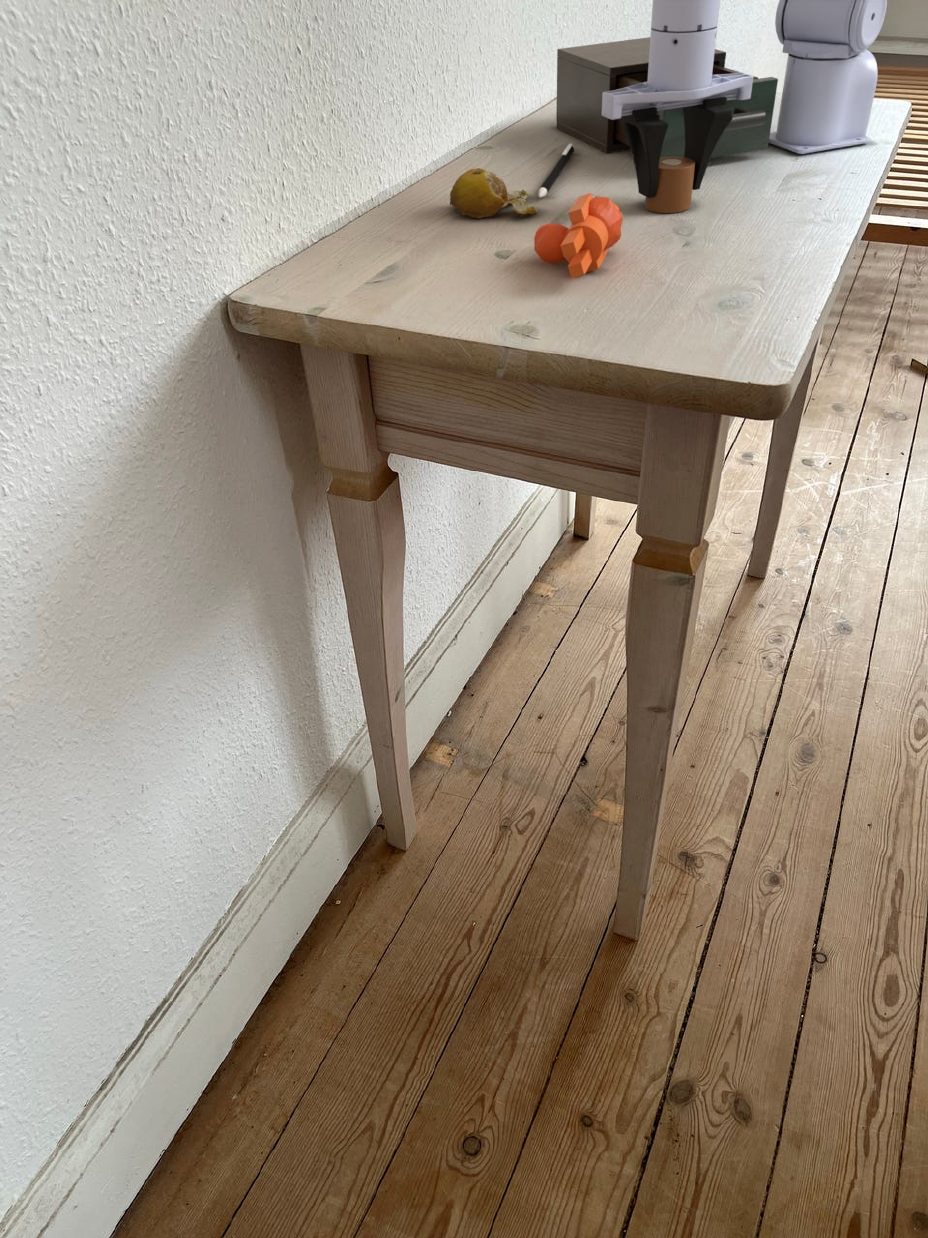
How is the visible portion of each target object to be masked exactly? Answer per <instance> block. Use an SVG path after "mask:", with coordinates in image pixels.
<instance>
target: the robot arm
mask: <svg viewBox="0 0 928 1238" xmlns="http://www.w3.org/2000/svg"><path fill="white" fill-rule="evenodd" d="M651 6H652V9H651V21H650V22H651V23H650V36H649V37H650V51H649V66H648V80H647V82H644V83H640V84H636V85H632V86H629V87H625V88H621V89H617V90H612V91H607V92H603V95H602V116H604V117H606V118H609V119H611V120H614V119H619V122H620V124H621V126H622V128H623V131H624V133H625V135H626V138H627V140H628V143H629V146H630V149H629V150H630V152H631V156H632V160H633V164H634V169H635V170H634V171H635V175H636V181H637V189H638V194H640V195H642V196H644V197H645V198H646V197H647V198H652V197H655V194H656V190H657V184H658V171H659V161H660V155H661V150H662V146H663V142H664V138H665V135H666V132H667V129H668V126H669V125H668V123H667V122H664V121H662V120H660V115H657V111H660V110H666V109H673V108H680V107H683V114H684V126H685V153H684V157H686V158H690V159H692V160H694V161H695V170H694V179H693V189H692V191H697V190H700V189H701V186H702V182H703V179H704V177H705V175H706V171H707V168H708V166H709V162H710V161H711V159H712V158H711V155H712V153H713V151H714V149H715V147H716V145H717V143H718V141H719V139H720V137H721V135H722V134H723V132H724V131H725V129H726V127H727V126H728V125H729V123H730V122H731V120H732V118H733V111H734V108H733V107H732V106H729V105H726V104H727V100H733V99H738V100H747V99H750V98H751V91H752V83H753V76H754V75H751V74H748V73H746V72H741V71H739V72H740V73H732V74H719V75H712V71H713V62H714V52H715V49H716V42H717V34H718V33H717V32H718V25H719V24H718V23H719V14H720V6H721V0H652V5H651ZM887 6H888V0H778V4H777V7H776V11H775V20H774V23H775V24H774V26H775V32H776V36H777V39H778V41H779V43H780V44H781V45H782V46H783V47H782V53H783V54H787V61H786V67H785V74H784V79H783V86H782V92H781V100H780V105H779V113H778V119H777V126H776V131H771V132H770V137H769V144H772V145H774V146H776V147H779V148H782V149H784V150H787V151H790V152H793V153H795V154H799V155H804V154H811V153H815V152H821V151H828V150H832V149H833V150H834V149H839V148H845V147H846V148H847V147H851V146H857V145H863V144H869V143H870V142H871V137H868V136H867V133H868V127H869V122H870V117H871V113H872V109H873V104H874V99H875V94H876V89H877V84H878V78H879V77H878V73H879V71H878V64H877V60H876V57H875V56H874V54H873V53H872V52H870V51H869V50H868V49H869V47H870V46H871V45H872V44H873V43H874V42H875V40H876V39H877V38H878V36H879V34H880V32H881V29H882V27H883V24H884V22H885V17H886V12H887V8H888V7H887Z"/></svg>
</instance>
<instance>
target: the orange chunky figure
mask: <svg viewBox="0 0 928 1238" xmlns="http://www.w3.org/2000/svg"><path fill="white" fill-rule="evenodd" d="M621 211H622V210H621V208H620V207H619V206H618V204H616V203H614V202H613V201H612V200H611V199H610V198H609V197H606V196H594V197H593V193H592V192H590V193H586V194H583V195H580V196H578V197H577V199H576V201H575V202H574V203H573V205H572V206H571V208H570V210H569V211H568V216H569V219H570V223H571V225H570V227H567V226H565V225H563V224H561V223H553V222H552V223H551V222H550V223H545V224H542V225H541V226H539V227H538V229H537V230H536V231H535V234H534V239H533V240H534V241H533V243H534V252H535V253H536V255H537V256H538V257H539V259H540V260H542V261H543V262H545V263H547V264H550V265H557V264H561V263H564V262H566V261H567V262H568V263H569V264H568V265H567V268H568V271H569V275H570V278H571V279H574V278H578V277H581V276H582V277H583V276H585V274H586V273H589V272H593V271H596V270H599V269H600V268H601V265H602V263H603V262H604V259H605V258H606V256H607V254H608V252H609V249H611V248H613V246H615V244H617V243H618V242H619V240H621V237H622V225H623V220H624V219H623V212H621Z"/></svg>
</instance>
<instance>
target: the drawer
mask: <svg viewBox="0 0 928 1238" xmlns="http://www.w3.org/2000/svg"><path fill="white" fill-rule="evenodd" d="M740 72H741V71H738V70H735V69H731V68H728V67H721V66H718V65H714V64H713V71H712V75H719V74H732V73H740ZM752 76H753V83H752V91H751V98H750V99H747V100H738V99H733V100H727V104H726V105H729V106H732V107H733V108H734V111H733V118H732V120H731V122H730V123H729V125H728V126H727V127H726V129H725V131H724V132H723V134H722V135H721V137H720V139H719V141H718V143H717V145H716V147H715V149H714V151H713V153H712V155H711V158H710V159H715V158H721V157H729V156H734V155H739V154H740V155H741V154H745V153H752V152H756V151H757V152H758V151H763V150H764V151H765V150H768V149H769V144H770V143H769V137H770V133H771V130H772V123H773V116H774V109H775V103H776V95H777V89H778V82H779V78H777V77H774V76H767V77H760V78H759V77H757V76H754V75H752ZM647 80H648V71H642V72H635V73H628V74H620V75H616V90H617V89H621V88H625V87H629V86H632V85H636V84H640V83H644V82H647ZM657 115H660V120H662V121H664V122H667V123H668V125H669V126H668V129H667V132H666V135H665V138H664V142H663V146H662V150H661V155H660V157H665V156H679V157H684V153H685V126H684V114H683V107H680V108H673V109H666V110H660V111H657ZM613 138H614V139H616V140H618V141H620V142H622V143H624V144H627V145H629V143H628V140H627V138H626V135H625V133H624V131H623V128H622V126H621V124H620V122H619V119H614V131H613Z"/></svg>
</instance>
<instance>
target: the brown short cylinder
mask: <svg viewBox="0 0 928 1238" xmlns="http://www.w3.org/2000/svg"><path fill="white" fill-rule="evenodd" d="M694 170H695V161H694V160H692V159H690V158H686V157H679V156H665V157H660V161H659V171H658V184H657V190H656V194H655V197H652V198H647V197H646V196H645V201H644V207H645V208H646V209H647V210H648V211H651V212H653V213H654V212H655V213H659V214H677V213H682V212H685V211H688V210H689V209H690V208H691V206H692V198H693V179H694Z"/></svg>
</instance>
